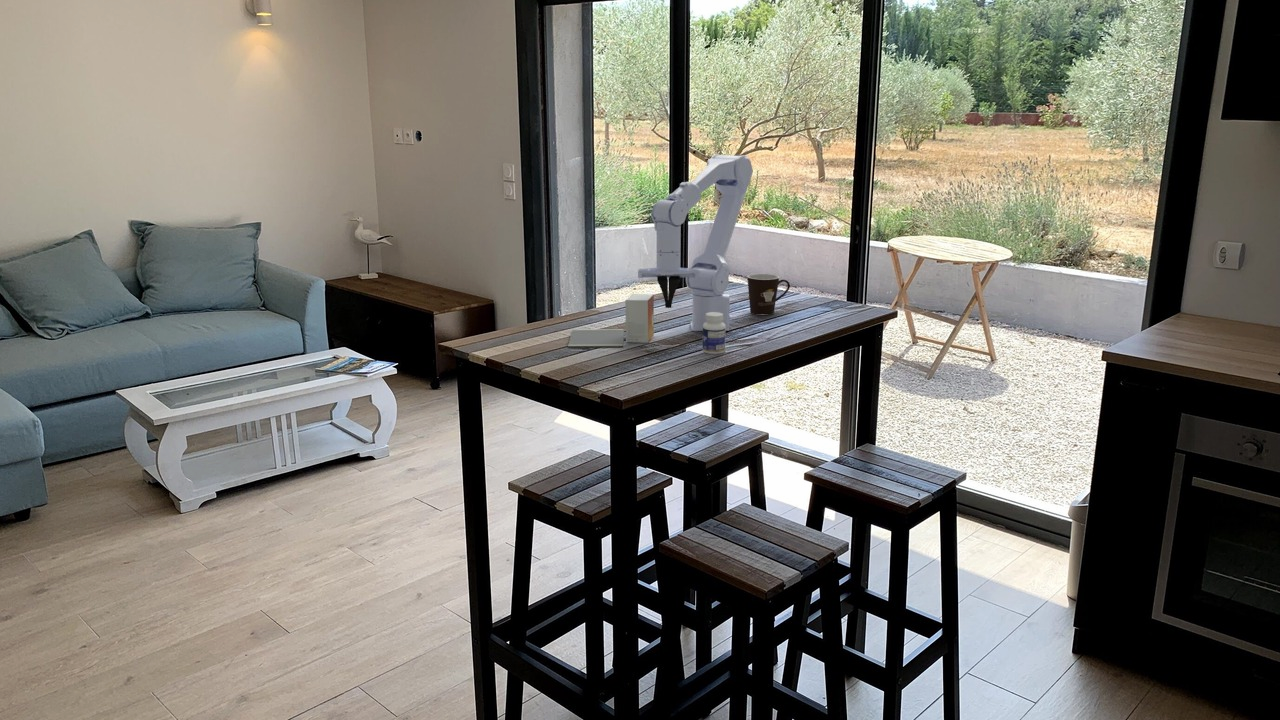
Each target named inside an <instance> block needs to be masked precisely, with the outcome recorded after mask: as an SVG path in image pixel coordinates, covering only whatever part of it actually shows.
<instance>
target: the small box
mask: <svg viewBox="0 0 1280 720" xmlns="http://www.w3.org/2000/svg"><path fill="white" fill-rule="evenodd" d="M654 297H655V296H654V294H650V293H649V294H647V293H646V294H645V293H631V295H630V296H628V298H626V299H625V301H624V303H625V342H626V343H636V344H637V343H643V344H648V343H650V341H651V339H652V338H654V334H655V331H654V327H655V326H654V323H655V322H654V321H655V319H654V317H655V313H654V312H655V311H654V310H655V309H654V305H655V303H654V301H655V299H654Z"/></svg>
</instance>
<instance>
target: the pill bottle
mask: <svg viewBox="0 0 1280 720" xmlns="http://www.w3.org/2000/svg"><path fill="white" fill-rule="evenodd" d="M706 321H707V322H706V323H704V324H703V331H702V352H704V353H705V354H709V355H717V354H719V355H720V354H723V353H725V351H726V332H727V331H726V326H725V324H724V323H723V322H722V321H723V314H722V313H718V312H710V313H706Z"/></svg>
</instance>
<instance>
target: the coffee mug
mask: <svg viewBox="0 0 1280 720" xmlns="http://www.w3.org/2000/svg"><path fill="white" fill-rule="evenodd" d="M746 279H747V289H748V300H749V311H750V312H751V313H754V314H772V313H774V314H775V309H776V302H778V301H779V300H780V299H781V298H783V297H784V296H785V295H786V294H787V293H788V292H789V290H790V287H791V286H790V282H789V280H786V279H780V276H779V275H776V274H770V273H752V274H748V275H747V276H746ZM783 282H785V284H786V285H787V287H786V289H785V291H784V292H782V294H780V295H779V296H778V297H777V295H778V288H779V285H780V284H781V283H783ZM751 313H750V314H751ZM754 314H753V315H754ZM772 315H773V314H772Z"/></svg>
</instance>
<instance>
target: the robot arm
mask: <svg viewBox="0 0 1280 720" xmlns="http://www.w3.org/2000/svg"><path fill="white" fill-rule="evenodd" d="M753 173H754V169H753V166H752V162H751V159H750V157H748V156H747V155H744V154H743V155H729V154H727V155H725V154H718V153H717V154H713V155H712V156H711V158H709V159H707V161H706V167H705V168H703V170H702V171H701V172H700V173H699V174H698V175H697V176H696V177H695V178H694V179H693V180H692V181H691V182H690V181H685V182H684V181H682V182H681V183H679V187H678V188H676V189H675V190H674V191H673V192H672V193H669V195H668V196H667V197H666V198H665V199H659V200H657V201H656V202H655V203H654V204H653V207H652V210H651V212H650V217H651V220H652V222H653V224H654V230H655V232H656V267H652V268H649V267H648V268H638V269H637V278H638V279H643V278H656V280H657V282H658V286H659V288H660V290H661V293H662V295H663V299H664V300H663V301H664V306H665V309H671V308H672V307H673V305H672V304H673V301H674V300H673V299H674V297H675V294H676V291H677V288H678V286H679V284H680V281H681V278H685V283H686V286H687V288H688V290H689V289H690V290H689V291H690V292H689V293H691V294H692V318H691V319H692V320H691V322H689V326H690V330H691V332H692V331H693V332H703V324H704V323H706V322H707V321H706V313H710V312H718V313H722V314H723V321H722V322H723V323H724V324H725V326H726V331H725V332H727V331H730V321H731V317H730V308H731V307H730V294H729V293H724V292H726V290H727V288H728V286H729V280H730V276H729V275H730V271H731V268H730V266H729V264H728V263H727V261H726V260H725V257H726V254H727V252H728V248H729V245H730V243H731V239H732V237H733V233H734V230H735V227H736V225H737V221H738V217H739V215H740V211H741V209H742V206H743V202H744V199H745V196H746V193H747V191H748V188H749V185H750V182H751V178H752V177H753ZM712 185H715V187H716V189H717V191H719V192H720V193H721V199H720V203H719V206H718V209H717V211H716V212H717V213H716V214H715V219H713V220H714V221H713V223H712V227H711V230H710V233H709V235H708V238H707V242H706V245H705V248H704V252H703V253H702V254H700V255H699V256H697V257H695V258H694V259H693V261H692V264H691V266H690V267H681V253H682V252H681V251H682V250H681V237H682V233H681V227H682V226H681V225H682V224H684V223H685V221H686V218H687V215H688V214H689V211H690V210H691V209H693V208H694V206H696V205H697V204H698V203H699V202H700V201H701V199H702V193H704V192H705V191H706V190H708V189H709V188H710V187H712Z"/></svg>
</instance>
